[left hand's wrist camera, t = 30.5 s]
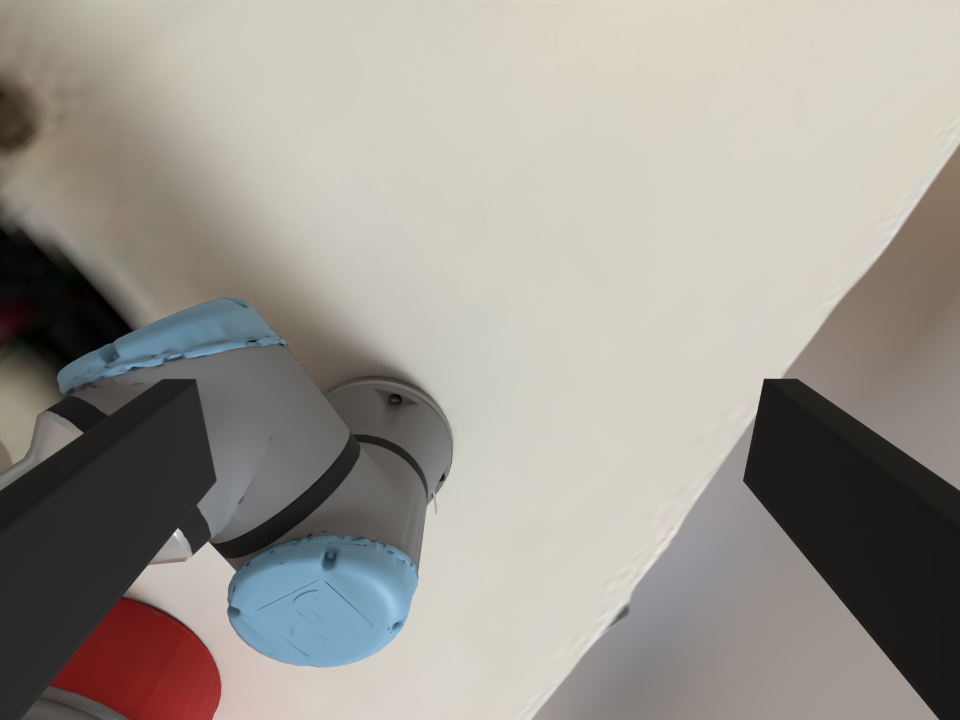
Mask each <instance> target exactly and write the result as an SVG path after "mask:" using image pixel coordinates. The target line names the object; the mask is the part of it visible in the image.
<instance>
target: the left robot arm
mask: <svg viewBox="0 0 960 720" xmlns="http://www.w3.org/2000/svg"><path fill="white" fill-rule="evenodd" d="M287 345H288V343H287V342H286V341H285V340H284V339H283V338H281V337H278V336H277V335H276V333H275V332H274V331H273V330H272V329H271V327H270V326H269V325H268V324H267V323H266V321H265V320H264V319H263V318H262V317H261V315H260V314H259V313H258V312H257V311H256V310H255V308H254V307H252V306H251V305H250V304H248V303H247V302H245V301H242V300H239V299H234V298H224V299H217V300H213V301H209V302H206V303H203V304H200V305H197V306H194V307H192V308H189V309H186V310H183V311H181V312H178V313H176V314H173V315H171V316H168V317H166V318H163V319H161V320H158V321H156V322H154V323H151V324H149V325H147V326H145V327H142V328H140V329H138V330H136V331H133V332H131V333H129V334H127V335H125V336H123V337H121V338H119V339H117V340H116V341H115V342H114V343H113V344H108V345H106V346H104V347H102V348H100V349H98V350H95V351H93V352H90V353H88V354H86V355H84V356H82V357H80V358H79V359H77V360H75V361H74V362H72V363H70V364H69V365H67V366H66V367H64V368H63V369H62V370H61V371H60V372H59V374H58V377H57V380H58V382H59V385H60V387H59V390H60V391H61V392H62V393H63V394H66V395H67V396H68V397H67V398H65V399H63V400H62V401H60V402H58V403H57V404H55V405H53V406H52V407H50V408H48V409H47V410H45V411H44V412H42V413H40V414H39V415H38V416H37V418H36V423H35V428H34V432H33V437H32V442H31V446H30V448H29V450H28V452H27V454H26V455H25V457H24V458H23V459H22V460H20V461H19V462H17V463H16V464H14V465H13V466H11V467H9V468H8V469H6V470H5V471H3V472H2V473H0V720H21V719H22V718H23V716H24V715H25V714H26V713H27V711H28V710H29V709H30V708H31V707H32V705H33V704H34V703H35V702H36V700H37V699H38V698H39V697H40V696H41V694H42V693H43V692H44V691H45V690H46V688H47V687H48V686H49V685H50V683H51V682H52V681H53V680H54V679H55V677H56V676H57V675H58V674H59V672H60V671H61V670H62V669H63V668H64V666H65V665H66V664H67V663H68V662H69V660H70V659H71V658H72V657H73V655H74V654H75V653H76V652H77V651H78V649H79V648H80V647H81V646H82V644H83V643H84V642H85V641H86V640H87V638H88V637H89V636H90V635H91V634H92V632H93V631H94V630H95V629H96V627H97V626H98V625H99V624H100V623H101V621H102V620H103V619H104V618H105V616H106V615H107V614H108V613H109V612H110V610H111V609H112V608H113V607H114V606H115V604H116V603H117V602H118V601H119V599H120V598H121V597H122V596H123V595H124V593H125V592H126V591H127V590H128V588H129V587H130V586H131V585H132V584H133V582H134V581H135V580H136V579H137V578H138V576H139V575H140V574H141V573H142V571H143V570H144V569H145V568H146V567H147V566H148V565H152V564H163V563H173V562H184V561H186V560H188V559H189V558H190V557H191V556H193V555H194V554H195V553H196V552H197V551H198V550H199V549H200V548H201V547H202V546H203V545H204V544H205V543H206V542H209V543H210V544H211V545H212V546H213V547H214V548H215V549H216V550H217V551H218V552H219V553H220V554H221V555H222V556H223V557H224V558H225V560H226V561H227V562H228V563H229V564H230V565H231V566H232V567H233V568H234V569H235V570H236V574H235V575H234V576H233V577H232V580H231V582H230V584H229V588H228V599H227V600H228V603H229V607H228V610H227V613H228V617H229V620H230V623H231V625H232V627H233V628H234V630H235V631H236V633H237V634H238V636H239V637H240V638H241V639H242V640H243V641H244V642H245V643H246V644H248V645H249V646H250V647H252V648H253V649H255V650H256V651H257V652H259V653H261V654H263V655H265V656H267V657H269V658H272V659H274V660H277V661H280V662H283V663H287V664H292V665H296V666H313V667H334V666H341V665H346V664H350V663H353V662H357V661H359V660H362V659H364V658H367V657H369V656H371V655H373V654H375V653H377V652H378V651H380V650H381V649H383V648H384V647H385V646H386V645H388V644H389V643H390V642H391V641H392V640H393V639H394V638H395V637H396V636H397V634H398V633H399V632H400V630H401V629H402V627H403V625H404V623H405V621H406V619H407V616H408V613H409V609H410V605H411V600H412V596H413V595H414V592H415V589H416V587H417V585H418V568H419V561H420V553H421V546H422V538H423V530H424V523H425V515H426V508H427V505H428V504H429V503H430V501H431V500H432V499H434V505H435V512H436V513H437V503H436V496H435V495H436V494H437V492H438V491H439V490H440V488H441V487H442V485H443V484H444V482H445V480H446V478H447V476H448V474H449V471H450V468H451V463H452V454H453V437H452V432H451V428H450V425H449V423H448V420H447V418H446V416H445V415H444V413H443V411H442V410H441V409H440V407H439V406H438V405H437V404H436V403H435V401H434V400H433V399H431V398H430V397H429V396H428V395H427V394H426V393H424V392H423V391H421V390H420V389H418V388H416V387H415V386H413V385H411V384H409V383H406V382H403V381H400V380H397V379H393V378H388V377H362V378H357V379H353V380H350V381H347V382H344V383H342V384H340V385H338V386H336V387H335V388H333V389H332V390H330V391H329V392H328V393H326V394H325V395H323V394H322V393H321V391H320V390H319V389H318V387H317V386H316V385H315V383H314V382H313V381H312V379H311V378H310V377H309V375H308V374H307V373H306V371H305V370H304V369H303V367H302V366H301V365H300V363H299V362H298V361H297V359H296V358H295V357H294V355H293V354H292V353H291V351H290V350H289V349H288V347H287ZM743 481H744V483H745V484H746V485H747V486H748V487H749V489H750V490H751V491H752V492H753V493H754V495H755V496H756V497H757V498H758V500H759V501H760V502H761V503H762V504H763V506H764V507H765V508H766V509H767V511H768V512H769V513H770V514H771V515H772V517H773V518H774V519H775V520H776V522H777V523H778V524H779V525H780V526H781V528H782V529H783V530H784V531H785V532H786V534H787V535H788V536H789V537H790V539H791V540H792V541H793V542H794V543H795V545H796V546H797V547H798V548H799V550H800V551H801V552H802V553H803V554H804V556H805V557H806V558H807V559H808V560H809V562H810V563H811V564H812V565H813V567H814V568H815V569H816V570H817V571H818V573H819V574H820V575H821V576H822V578H823V579H824V580H825V581H826V582H827V584H828V585H829V586H830V587H831V588H832V590H833V591H834V592H835V593H836V595H837V596H838V597H839V598H840V599H841V601H842V602H843V603H844V604H845V606H846V607H847V608H848V609H849V610H850V612H851V613H852V614H853V615H854V616H855V618H856V619H857V620H858V621H859V623H860V624H861V625H862V626H863V627H864V629H865V630H866V631H867V632H868V634H869V635H870V636H871V637H872V638H873V640H874V641H875V642H876V643H877V644H878V646H879V647H880V648H881V649H882V651H883V652H884V653H885V654H886V655H887V657H888V658H889V659H890V660H891V661H892V663H893V664H894V665H895V666H896V668H897V669H898V670H899V671H900V672H901V674H902V675H903V676H904V677H905V679H906V680H907V681H908V682H909V683H910V685H911V686H912V687H913V688H914V690H915V691H916V692H917V693H918V694H919V696H920V697H921V698H922V699H923V700H924V702H925V703H926V704H927V705H928V707H929V708H930V709H931V710H932V711H933V713H934V714H935V715H936V716H937V717H938V719H939V720H960V491H959V490H958V489H957V488H955V487H954V486H952V485H951V484H949V483H948V482H946V481H945V480H944V479H942V478H941V477H939V476H938V475H936V474H935V473H933V472H932V471H930V470H929V469H927V468H926V467H925V466H923V465H922V464H920V463H919V462H917V461H916V460H914V459H913V458H911V457H910V456H909V455H907V454H906V453H904V452H903V451H901V450H900V449H898V448H897V447H895V446H894V445H893V444H891V443H890V442H888V441H887V440H885V439H884V438H882V437H881V436H880V435H878V434H877V433H875V432H874V431H872V430H871V429H869V428H868V427H866V426H865V425H864V424H862V423H861V422H859V421H858V420H856V419H855V418H853V417H852V416H850V415H849V414H848V413H846V412H845V411H843V410H842V409H840V408H839V407H837V406H836V405H834V404H833V403H832V402H830V401H829V400H827V399H826V398H824V397H823V396H821V395H820V394H819V393H817V392H816V391H814V390H813V389H811V388H810V387H808V386H807V385H805V384H804V383H803V382H801V381H800V380H798V379H764V381H763V386H762V391H761V396H760V401H759V406H758V411H757V415H756V420H755V425H754V430H753V435H752V440H751V445H750V450H749V455H748V459H747V464H746V469H745V474H744V479H743Z"/></svg>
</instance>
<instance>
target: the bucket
mask: <svg viewBox="0 0 960 720" xmlns="http://www.w3.org/2000/svg"><path fill="white" fill-rule="evenodd" d="M220 696H221V681H220V675H219V671H218V669H217V666H216V664H215V661H214V660H213V658H212V656H211V655H210V653H209V651H208V650H207V649H206V647H205V646H204V645H203V644H202V643H201V641H200V640H199V639H198V638H197V637H196V636H195V635H194V634H193V633H191V632H190V631H189V630H188V629H187V628H186V627H184V626H183V625H182V624H180V623H179V622H177V621H176V620H174V619H172V618H171V617H169V616H167V615H166V614H164V613H162V612H160V611H158V610H156V609H153V608H151V607H148V606H146V605H143V604H141V603H137V602H134V601H130V600H126V599H122V598H120V599H119V601H118V602H117V603H116V604H115V606H114V607H113V608H112V609H111V610H110V612H109V613H108V614H107V615H106V616H105V618H104V619H103V620H102V621H101V623H100V624H99V625H98V626H97V627H96V629H95V630H94V631H93V632H92V634H91V635H90V636H89V637H88V638H87V640H86V641H85V642H84V643H83V644H82V646H81V647H80V648H79V649H78V651H77V652H76V653H75V654H74V655H73V657H72V658H71V659H70V660H69V662H68V663H67V664H66V665H65V666H64V668H63V669H62V670H61V671H60V672H59V674H58V675H57V676H56V677H55V679H54V680H53V681H52V682H51V683H50V685H49V686H48V687H47V688H46V690H45V691H44V692H43V693H42V694H41V696H40V697H39V698H38V699H37V700H36V702H35V703H34V704H33V705H32V707H31V708H30V709H29V710H28V711H27V713H26V714H25V715H24V716H23V718H22V719H21V720H212V718H213V716H214V713H215V711H216V709H217V707H218V704H219V700H220Z"/></svg>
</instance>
